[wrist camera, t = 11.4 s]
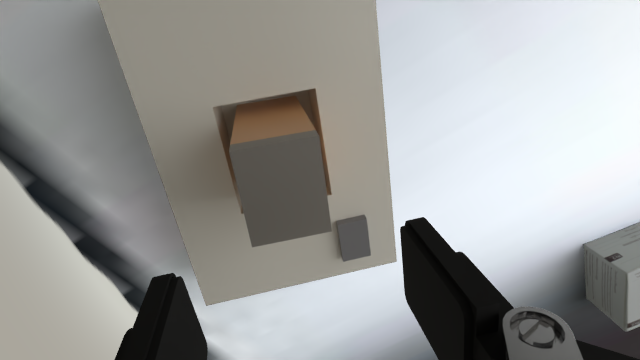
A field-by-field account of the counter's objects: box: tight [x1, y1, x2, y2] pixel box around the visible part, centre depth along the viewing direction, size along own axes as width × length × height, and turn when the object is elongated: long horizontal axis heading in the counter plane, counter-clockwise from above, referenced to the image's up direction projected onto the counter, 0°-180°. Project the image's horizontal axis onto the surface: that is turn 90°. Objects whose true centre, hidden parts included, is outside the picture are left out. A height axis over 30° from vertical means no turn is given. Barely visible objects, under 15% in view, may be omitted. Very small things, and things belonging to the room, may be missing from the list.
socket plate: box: [98, 0, 397, 306], centre depth 25 cm, size 20×14×6 cm
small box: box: [583, 223, 640, 331], centre depth 37 cm, size 8×8×5 cm
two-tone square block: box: [229, 96, 332, 247], centre depth 22 cm, size 5×4×10 cm
